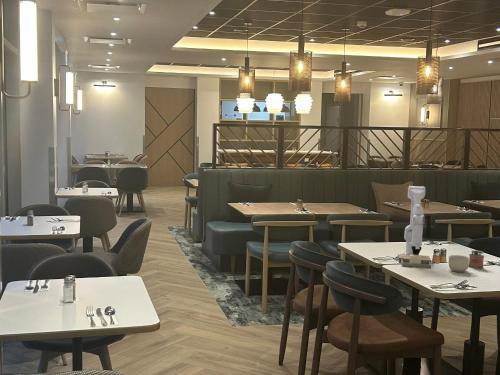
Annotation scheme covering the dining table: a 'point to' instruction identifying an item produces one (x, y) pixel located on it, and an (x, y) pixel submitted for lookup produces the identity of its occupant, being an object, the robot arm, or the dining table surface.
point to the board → (407, 257)
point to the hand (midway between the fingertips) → (415, 259)
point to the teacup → (458, 263)
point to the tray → (407, 264)
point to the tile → (415, 259)
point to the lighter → (476, 259)
